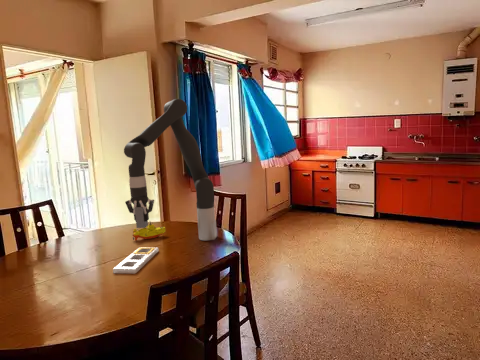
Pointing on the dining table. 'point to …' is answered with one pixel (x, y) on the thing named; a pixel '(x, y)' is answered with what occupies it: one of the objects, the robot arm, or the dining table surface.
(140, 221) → the peg
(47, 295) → the dining table surface
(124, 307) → the dining table surface
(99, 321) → the dining table surface
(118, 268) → the rail
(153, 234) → the toy boat
